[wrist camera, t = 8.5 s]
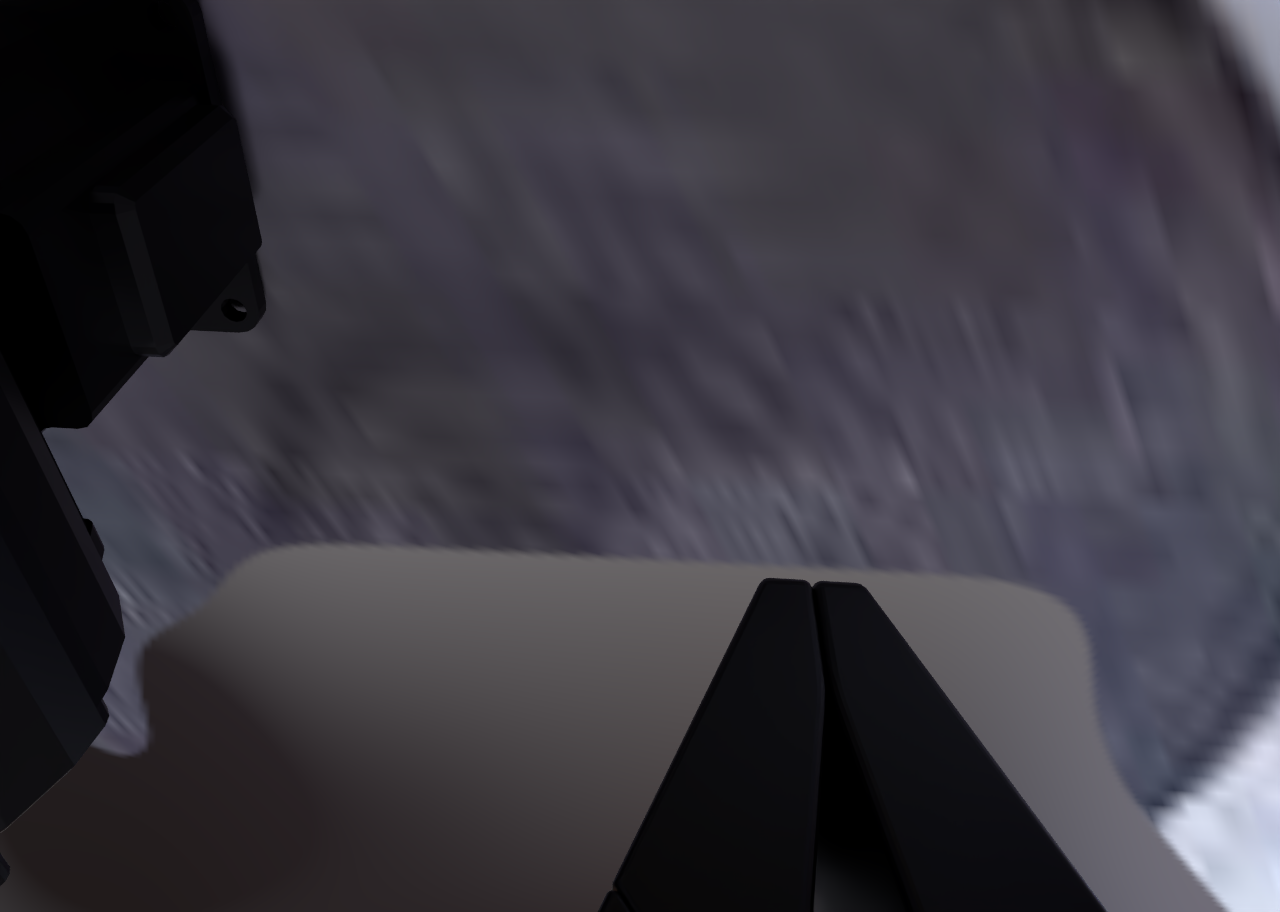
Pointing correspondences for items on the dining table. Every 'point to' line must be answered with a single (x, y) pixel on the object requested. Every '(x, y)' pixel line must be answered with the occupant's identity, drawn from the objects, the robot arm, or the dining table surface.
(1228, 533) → the dining table surface
